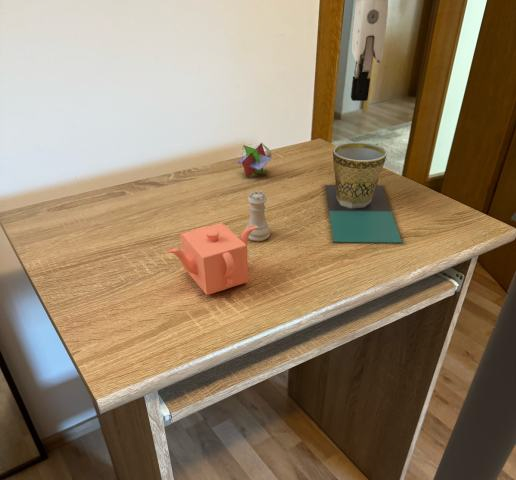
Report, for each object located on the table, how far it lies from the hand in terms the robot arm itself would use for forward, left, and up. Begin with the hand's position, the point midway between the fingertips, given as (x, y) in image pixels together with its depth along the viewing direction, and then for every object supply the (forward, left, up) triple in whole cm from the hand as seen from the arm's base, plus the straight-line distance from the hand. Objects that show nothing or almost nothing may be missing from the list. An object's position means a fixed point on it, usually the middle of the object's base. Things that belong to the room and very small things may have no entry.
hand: (358, 99), depth 97 cm
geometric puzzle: (+21, -1, -16) cm, 27 cm away
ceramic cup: (0, +12, -16) cm, 20 cm away
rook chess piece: (+19, +27, -16) cm, 37 cm away
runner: (0, +17, -16) cm, 23 cm away
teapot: (+25, +41, -16) cm, 51 cm away
